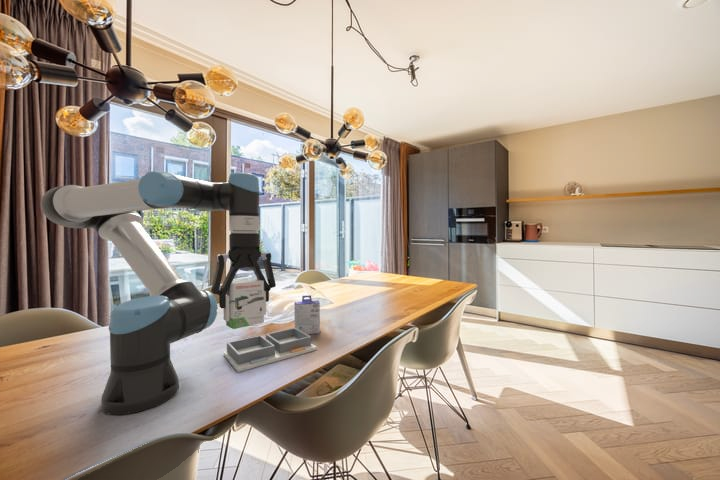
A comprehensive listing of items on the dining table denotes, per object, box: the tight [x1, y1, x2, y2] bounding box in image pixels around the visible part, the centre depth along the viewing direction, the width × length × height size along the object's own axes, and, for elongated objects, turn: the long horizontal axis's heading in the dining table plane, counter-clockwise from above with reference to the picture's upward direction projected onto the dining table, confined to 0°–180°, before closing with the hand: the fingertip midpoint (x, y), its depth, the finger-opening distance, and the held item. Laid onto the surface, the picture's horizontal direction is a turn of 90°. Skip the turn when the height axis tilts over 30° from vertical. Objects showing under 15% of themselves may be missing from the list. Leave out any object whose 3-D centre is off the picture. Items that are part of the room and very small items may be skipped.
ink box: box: [225, 277, 265, 330], centre depth 80 cm, size 9×5×12 cm, turn 133°
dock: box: [223, 327, 318, 373], centre depth 99 cm, size 26×15×4 cm, turn 129°
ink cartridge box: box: [294, 295, 321, 335], centre depth 119 cm, size 10×6×14 cm, turn 106°
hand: (245, 316), depth 80 cm, fingers closed on ink box, 9 cm apart
